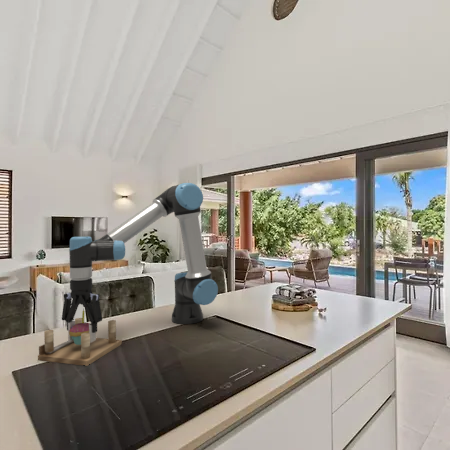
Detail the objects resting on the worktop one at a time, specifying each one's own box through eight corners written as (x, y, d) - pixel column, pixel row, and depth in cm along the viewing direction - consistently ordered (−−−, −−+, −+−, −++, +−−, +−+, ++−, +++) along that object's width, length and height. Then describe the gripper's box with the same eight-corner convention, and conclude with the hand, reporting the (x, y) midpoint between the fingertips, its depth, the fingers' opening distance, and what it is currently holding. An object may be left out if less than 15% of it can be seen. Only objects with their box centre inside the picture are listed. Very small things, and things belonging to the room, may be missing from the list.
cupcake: (74, 338, 123) (74, 307, 123) (97, 338, 123) (97, 306, 123) (65, 347, 114) (64, 313, 114) (90, 346, 115) (89, 312, 115)
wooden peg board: (121, 344, 126) (121, 319, 126) (87, 365, 107) (86, 337, 107) (78, 340, 131) (77, 316, 131) (37, 360, 112) (37, 332, 112)
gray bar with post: (77, 340, 125) (77, 320, 125) (49, 354, 112) (49, 332, 112) (71, 339, 126) (71, 320, 126) (42, 353, 113) (42, 331, 113)
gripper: (112, 277, 120) (113, 339, 120) (64, 276, 125) (65, 334, 125) (99, 281, 113) (100, 346, 113) (49, 279, 118) (50, 341, 118)
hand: (82, 340), depth 119 cm, fingers closed on cupcake, 8 cm apart
